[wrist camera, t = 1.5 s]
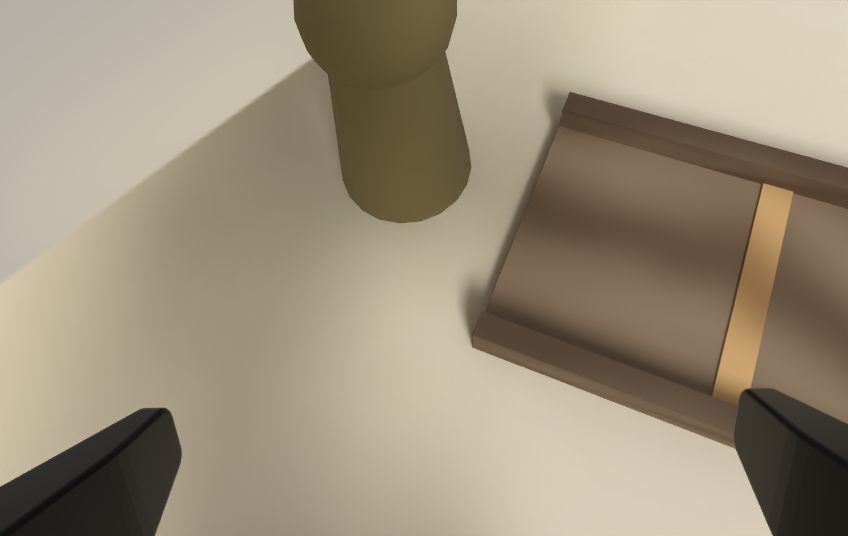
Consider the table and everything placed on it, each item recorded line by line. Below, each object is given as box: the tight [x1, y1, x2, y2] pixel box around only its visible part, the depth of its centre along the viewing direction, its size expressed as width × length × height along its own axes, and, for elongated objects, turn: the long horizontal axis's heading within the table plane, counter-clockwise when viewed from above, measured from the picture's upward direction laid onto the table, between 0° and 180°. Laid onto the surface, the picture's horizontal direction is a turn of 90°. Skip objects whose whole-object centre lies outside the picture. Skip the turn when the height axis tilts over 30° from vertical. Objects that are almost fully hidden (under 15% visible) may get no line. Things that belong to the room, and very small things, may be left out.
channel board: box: [473, 92, 848, 449], centre depth 22 cm, size 12×21×2 cm, turn 67°
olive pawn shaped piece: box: [294, 0, 471, 223], centre depth 22 cm, size 6×6×11 cm
